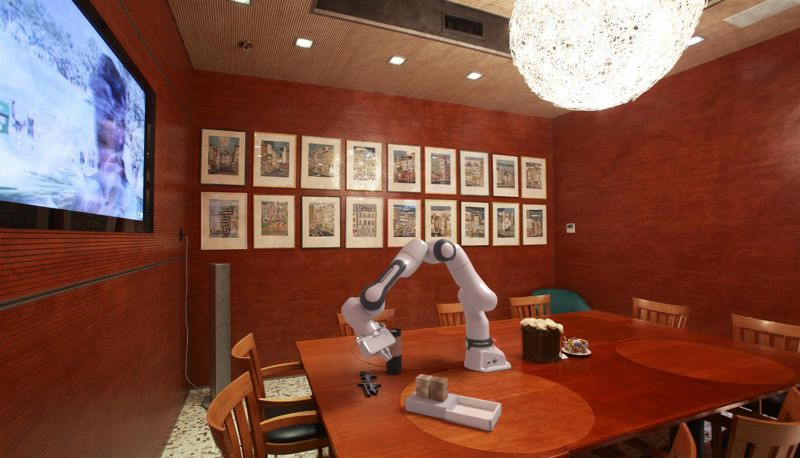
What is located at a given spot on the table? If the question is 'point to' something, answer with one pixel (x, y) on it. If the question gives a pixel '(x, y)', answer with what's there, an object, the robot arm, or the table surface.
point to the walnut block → (439, 389)
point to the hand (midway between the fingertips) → (389, 359)
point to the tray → (475, 413)
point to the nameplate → (369, 383)
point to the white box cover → (431, 405)
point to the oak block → (423, 386)
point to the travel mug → (395, 354)
